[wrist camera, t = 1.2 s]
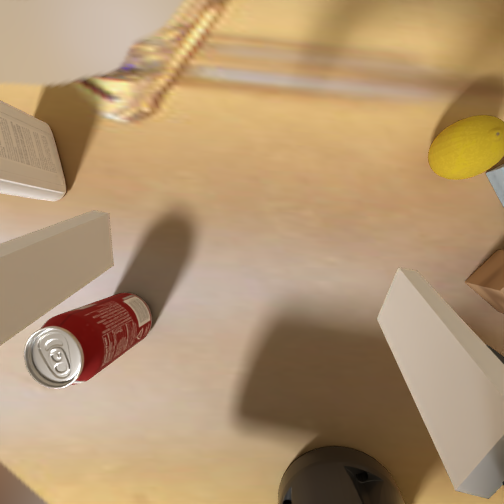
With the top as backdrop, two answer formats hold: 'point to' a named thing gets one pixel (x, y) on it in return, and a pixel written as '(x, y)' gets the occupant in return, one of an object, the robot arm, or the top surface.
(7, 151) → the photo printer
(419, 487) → the top surface
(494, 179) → the dish
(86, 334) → the soda can
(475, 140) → the lemon
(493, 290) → the walnut block
